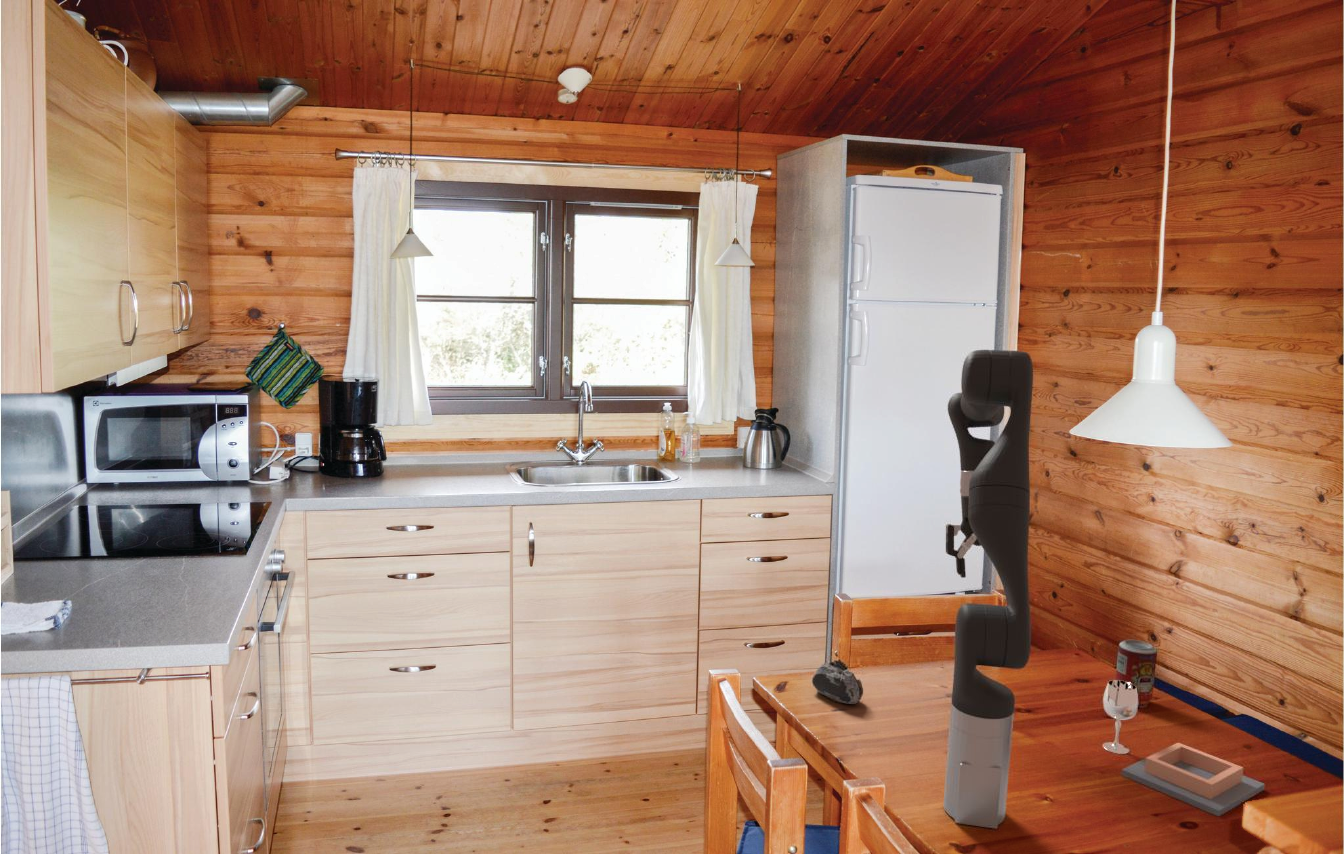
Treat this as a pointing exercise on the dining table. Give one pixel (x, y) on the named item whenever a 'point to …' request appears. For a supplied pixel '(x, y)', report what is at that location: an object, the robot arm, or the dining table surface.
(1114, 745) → the wineglass
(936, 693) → the dining table surface
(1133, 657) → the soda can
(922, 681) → the dining table surface
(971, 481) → the robot arm
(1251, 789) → the glass holder
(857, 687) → the dark grey rock
